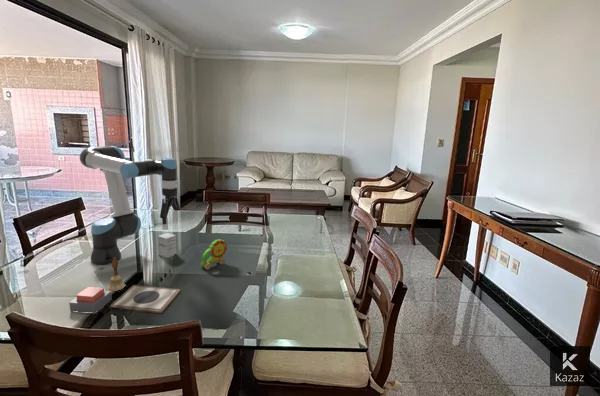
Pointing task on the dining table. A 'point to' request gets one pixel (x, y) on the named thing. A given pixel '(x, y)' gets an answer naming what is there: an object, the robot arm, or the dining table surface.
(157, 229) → the dining table surface
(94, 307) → the button housing
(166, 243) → the supplement box
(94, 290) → the button
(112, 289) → the hand bell
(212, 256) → the toy lion
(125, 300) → the drawing board
